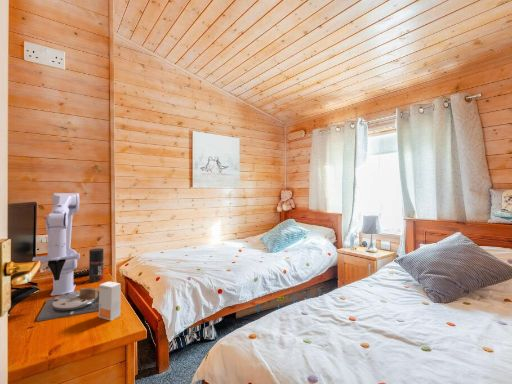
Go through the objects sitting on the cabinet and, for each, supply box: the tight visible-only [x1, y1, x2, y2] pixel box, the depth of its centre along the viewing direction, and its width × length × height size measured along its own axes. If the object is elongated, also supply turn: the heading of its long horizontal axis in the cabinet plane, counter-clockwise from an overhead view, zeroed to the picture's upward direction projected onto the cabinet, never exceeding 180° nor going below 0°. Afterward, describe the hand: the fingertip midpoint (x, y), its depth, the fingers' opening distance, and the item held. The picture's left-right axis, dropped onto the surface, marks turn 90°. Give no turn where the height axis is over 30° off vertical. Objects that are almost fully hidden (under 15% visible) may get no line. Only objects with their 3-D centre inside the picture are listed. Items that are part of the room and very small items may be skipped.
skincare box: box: [98, 280, 122, 322], centre depth 97 cm, size 6×4×12 cm
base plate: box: [36, 290, 99, 322], centre depth 105 cm, size 19×20×1 cm
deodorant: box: [88, 247, 104, 283], centre depth 133 cm, size 6×6×15 cm
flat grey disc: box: [53, 287, 99, 311], centre depth 105 cm, size 16×14×6 cm
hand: (57, 279), depth 104 cm, fingers closed
